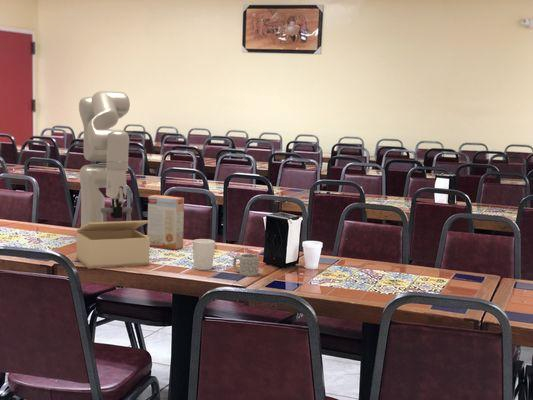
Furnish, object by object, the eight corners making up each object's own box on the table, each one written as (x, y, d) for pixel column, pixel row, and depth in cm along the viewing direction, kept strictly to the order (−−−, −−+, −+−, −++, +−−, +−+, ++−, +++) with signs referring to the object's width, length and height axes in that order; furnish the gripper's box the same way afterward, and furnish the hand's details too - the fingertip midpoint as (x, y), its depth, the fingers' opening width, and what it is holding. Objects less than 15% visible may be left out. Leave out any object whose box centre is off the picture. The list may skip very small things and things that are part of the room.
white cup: (200, 264, 282) (201, 238, 281) (218, 268, 278) (219, 241, 277) (187, 268, 275) (188, 241, 274) (205, 271, 272) (206, 243, 270)
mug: (261, 274, 272) (262, 255, 271) (251, 277, 266) (252, 258, 265) (238, 269, 277) (238, 251, 276) (227, 273, 271) (228, 254, 270)
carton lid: (76, 231, 282) (75, 215, 283) (134, 229, 292) (133, 213, 293) (88, 224, 266) (87, 207, 267) (149, 221, 277) (147, 205, 277)
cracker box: (183, 248, 312) (185, 197, 309) (175, 250, 306) (176, 198, 303) (155, 244, 318) (156, 194, 315) (146, 246, 312) (147, 195, 310)
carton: (76, 258, 283) (76, 231, 282) (133, 255, 294) (134, 229, 292) (88, 268, 268) (89, 240, 266) (149, 265, 278) (149, 238, 276)
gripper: (100, 164, 278) (100, 214, 280) (113, 168, 264) (112, 221, 266) (121, 164, 281) (120, 213, 283) (134, 168, 267) (133, 220, 270)
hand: (116, 217), depth 275 cm, fingers closed on carton lid, 2 cm apart
